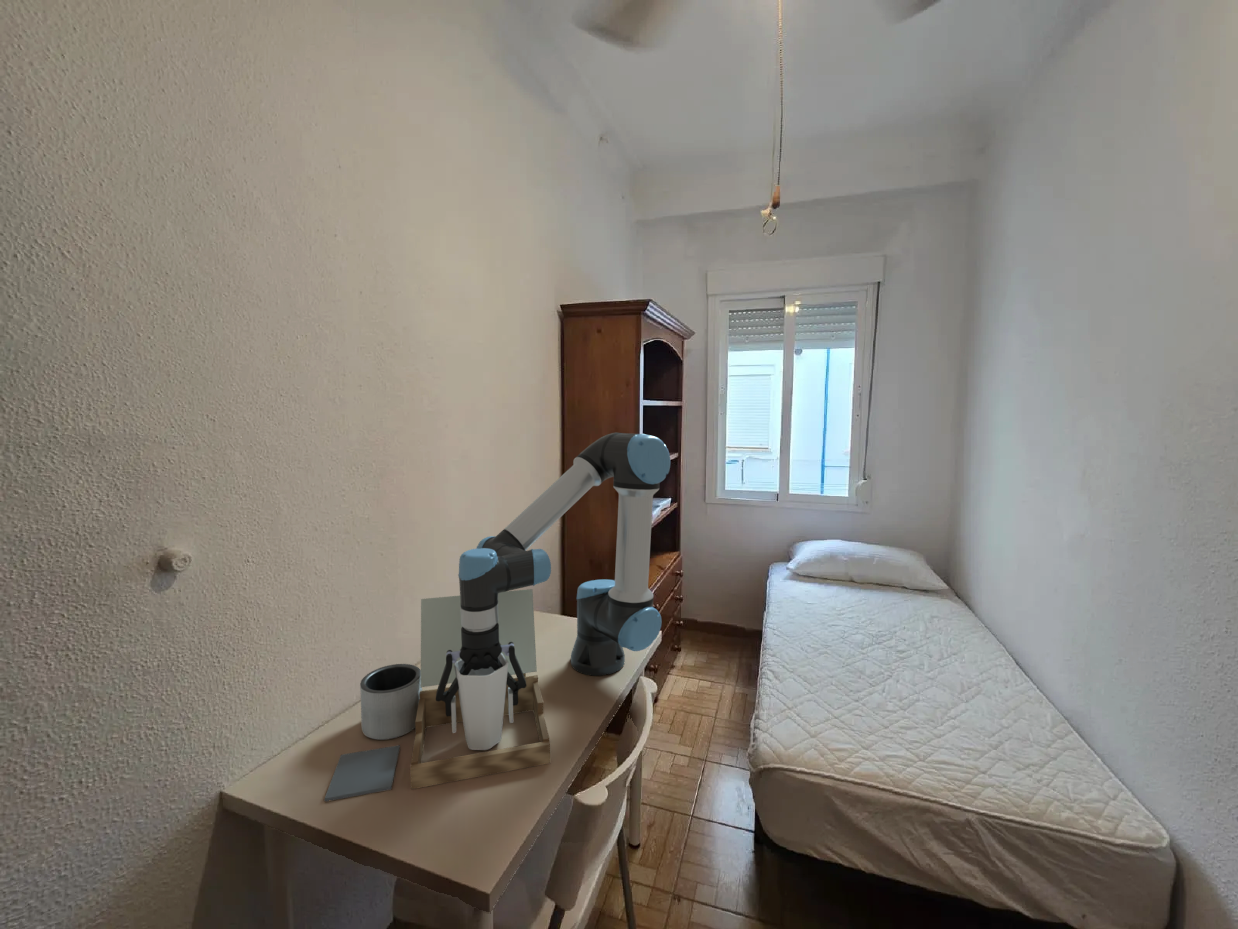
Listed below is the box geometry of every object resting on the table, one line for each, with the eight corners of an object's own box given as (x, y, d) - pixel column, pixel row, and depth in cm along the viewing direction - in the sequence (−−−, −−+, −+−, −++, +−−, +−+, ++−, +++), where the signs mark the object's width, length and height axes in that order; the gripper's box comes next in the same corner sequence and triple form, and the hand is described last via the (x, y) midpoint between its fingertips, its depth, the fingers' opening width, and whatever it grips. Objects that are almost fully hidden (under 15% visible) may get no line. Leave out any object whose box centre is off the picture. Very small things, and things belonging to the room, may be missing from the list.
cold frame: (535, 696, 124) (534, 634, 122) (550, 763, 101) (550, 687, 99) (422, 713, 117) (420, 647, 115) (410, 789, 93) (407, 708, 92)
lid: (536, 671, 118) (536, 671, 119) (532, 589, 123) (532, 589, 125) (420, 687, 111) (421, 686, 112) (421, 599, 116) (421, 599, 117)
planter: (434, 720, 114) (433, 673, 113) (382, 750, 104) (380, 699, 103) (402, 702, 121) (400, 657, 120) (350, 728, 111) (348, 680, 110)
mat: (399, 747, 105) (399, 745, 105) (391, 789, 93) (391, 786, 93) (341, 757, 102) (341, 754, 102) (324, 801, 90) (324, 798, 90)
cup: (480, 764, 99) (477, 682, 97) (446, 746, 105) (443, 668, 103) (519, 733, 109) (518, 658, 107) (486, 718, 114) (484, 646, 112)
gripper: (534, 611, 111) (536, 704, 113) (421, 623, 104) (425, 723, 107) (539, 625, 103) (540, 724, 106) (417, 639, 97) (422, 745, 99)
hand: (483, 724), depth 106 cm, fingers closed on cup, 11 cm apart
